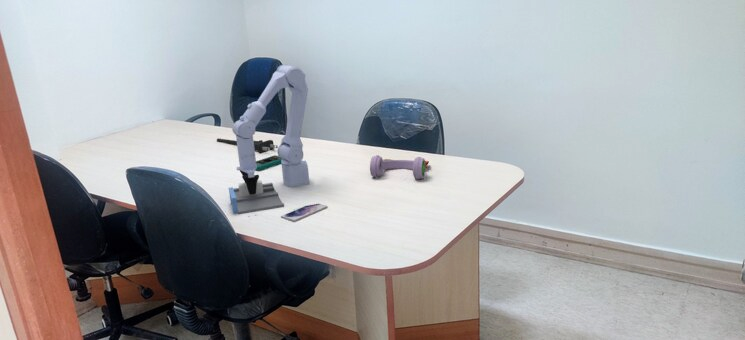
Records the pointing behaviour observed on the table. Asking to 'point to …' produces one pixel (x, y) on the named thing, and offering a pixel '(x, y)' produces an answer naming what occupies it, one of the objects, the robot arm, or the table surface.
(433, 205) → the table surface
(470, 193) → the table surface
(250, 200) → the board
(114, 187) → the table surface
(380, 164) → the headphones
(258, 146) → the electrical plug
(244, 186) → the light grey long block
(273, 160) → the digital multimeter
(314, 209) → the smartphone
